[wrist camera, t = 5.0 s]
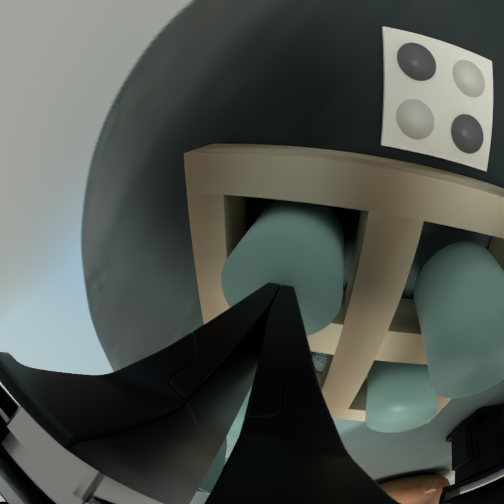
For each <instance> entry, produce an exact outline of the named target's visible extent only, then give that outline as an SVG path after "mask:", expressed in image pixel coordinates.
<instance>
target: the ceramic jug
mask: <svg viewBox="0 0 504 504" xmlns="http://www.w3.org/2000/svg"><path fill="white" fill-rule="evenodd" d="M448 485H449V486H450V484H449V481H448V479H446V478H445V477H443V476H440V475H431V474H425V475H414V476H408V477H403V478H398V479H394V480H391V481H387V482H384V483H382V484H379V486H380V487H381V488H382V489H383V490H384V491H385V492H386V493H387V494H389V495H390V496H391V497H392V498H393V499H395V500H396V501H397V502H399V503H401V504H437V503H438V502H439V499H440V495H441V493H442V488H443V487H445V486H448Z"/></svg>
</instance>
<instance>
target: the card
mask: <svg viewBox="0 0 504 504" xmlns="http://www.w3.org/2000/svg"><path fill="white" fill-rule="evenodd" d="M382 41H383V114H382V130H381V143H380V145H382V146H388V147H393V148H399V149H404V150H408V151H413V152H418V153H422V154H426V155H431V156H435V157H439V158H443V159H446V160H450V161H454V162H457V163H461V164H464V165H467V166H471V167H474V168H477V169H480V170H483V171H486V172H487V165H488V159H489V151H490V143H491V132H492V118H493V72H492V61H490V60H488V59H486V58H484V57H482V56H479V55H477V54H475V53H472V52H470V51H467V50H465V49H462V48H460V47H457V46H454V45H451V44H449V43H446V42H443V41H440V40H436V39H433V38H430V37H426V36H423V35H419V34H415V33H412V32H407V31H403V30H399V29H394V28H389V27H384V26H383V27H382Z"/></svg>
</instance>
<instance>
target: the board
mask: <svg viewBox="0 0 504 504" xmlns="http://www.w3.org/2000/svg"><path fill="white" fill-rule="evenodd" d="M184 167H185V179H186V191H187V201H188V211H189V221H190V230H191V238H192V246H193V254H194V262H195V269H196V276H197V283H198V290H199V297H200V303H201V309H202V316H203V321H204V324H206V323H207V322H209V321H210V320H212V319H213V318H215V317H216V316H218V315H220V314H221V313H223V312H224V311H226V310H227V309H229V308H230V306H229V305H228V303H227V301H226V299H225V297H224V294H223V291H222V286H221V274H222V269H223V266H224V264H225V262H226V260H227V258H228V257H229V256H230V254H231V253H232V252H233V250H234V249H235V248H236V246H237V245H238V244H239V242H240V241H241V240H242V238H243V237H244V236H245V234H246V233H247V217H246V197H257V198H268V199H277V200H287V201H296V202H304V203H313V204H320V205H328V206H336V207H343V208H350V209H357V210H360V217H359V223H358V229H357V235H356V240H355V246H354V251H353V256H352V261H351V266H350V271H349V276H348V280H347V285H346V289H345V290H343V295H342V303H341V307H340V310H339V312H338V314H337V316H336V317H335V318H334V320H333V321H332V322H331V323H330V324H329V325H328V326H327V327H325V328H324V329H322V330H321V331H319V332H317V333H314V334H312V335H309V336H307V339H308V343H309V347H310V351H313V352H319V353H325V354H328V357H327V360H326V364H325V367H324V370H323V373H317V378H318V382H319V385H320V388H321V391H322V394H323V396H324V399H325V402H326V404H327V407H328V409H329V411H330V414H331V416H332V418H337V419H346V420H355V421H365V415H366V401H367V382H368V379H365V378H366V376H367V374H368V372H369V370H370V368H371V366H372V364H373V362H374V360H378V361H388V362H399V363H412V364H427V360H426V354H425V348H424V343H423V338H422V333H421V328H420V324H419V319H418V315H417V311H416V307H415V303H414V299H406V298H401V296H402V293H403V290H404V287H405V284H406V281H407V278H408V275H409V272H410V269H411V266H412V263H413V259H414V256H415V253H416V249H417V246H418V242H419V238H420V234H421V230H422V226H423V222H424V221H427V222H432V223H437V224H442V225H446V226H451V227H456V228H460V229H465V230H469V231H474V232H478V233H482V234H486V235H490V236H492V238H491V241H490V244H489V247H488V251H489V252H490V253H491V255H492V256H493V257H494V259H495V260H496V261H497V263H498V264H499V265H500V267H501V268H502V269H503V271H504V188H501V187H498V186H496V185H493V184H490V183H487V182H483V181H480V180H477V179H474V178H470V177H467V176H463V175H460V174H456V173H453V172H449V171H445V170H441V169H437V168H433V167H428V166H424V165H420V164H415V163H410V162H405V161H400V160H395V159H390V158H384V157H378V156H372V155H366V154H359V153H352V152H345V151H337V150H328V149H319V148H308V147H296V146H282V145H262V144H210V145H207V146H204V147H201V148H198V149H195V150H192V151H189V152H186V153H184ZM451 399H452V398H446V397H442V396H440V395H438V394H437V402H438V412H437V414H438V413H439V412H440V411H441V410H442V409H443V408H444V406H445V405H446V404H447V403H448V402H449V401H450V400H451ZM437 414H436V415H437ZM436 415H435V416H436ZM435 416H434V417H435ZM434 417H433V418H434ZM433 418H432V419H433ZM432 419H431V420H432ZM431 420H430V421H431ZM430 421H429V422H430ZM429 422H427V423H429Z"/></svg>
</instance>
